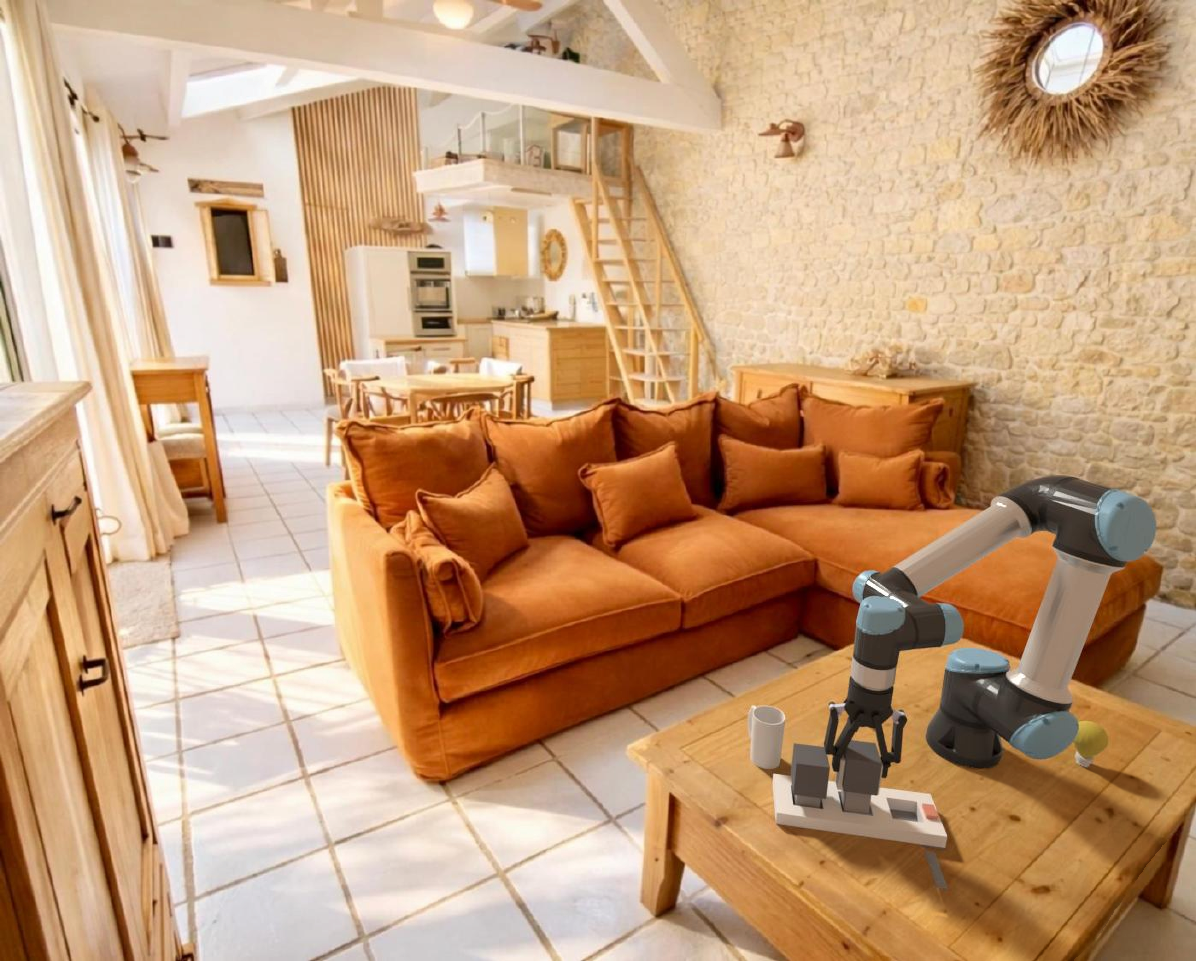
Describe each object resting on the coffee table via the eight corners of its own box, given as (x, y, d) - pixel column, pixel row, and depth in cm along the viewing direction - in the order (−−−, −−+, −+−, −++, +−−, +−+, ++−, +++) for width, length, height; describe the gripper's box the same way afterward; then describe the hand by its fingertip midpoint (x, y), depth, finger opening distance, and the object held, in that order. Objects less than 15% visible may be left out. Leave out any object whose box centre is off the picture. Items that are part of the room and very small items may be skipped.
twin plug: (819, 798, 136) (825, 747, 133) (823, 820, 130) (829, 767, 127) (788, 794, 137) (793, 743, 134) (791, 816, 131) (796, 763, 128)
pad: (934, 854, 124) (934, 852, 124) (947, 891, 116) (948, 888, 116) (887, 848, 125) (888, 845, 125) (898, 884, 118) (898, 881, 117)
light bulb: (1097, 758, 150) (1107, 719, 147) (1104, 777, 144) (1115, 737, 141) (1061, 750, 153) (1070, 711, 150) (1067, 768, 147) (1076, 728, 144)
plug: (867, 795, 134) (875, 743, 130) (873, 818, 128) (882, 763, 125) (835, 791, 135) (842, 738, 131) (840, 813, 129) (847, 759, 126)
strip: (927, 808, 135) (931, 790, 134) (944, 852, 124) (948, 832, 123) (771, 788, 140) (773, 770, 139) (775, 828, 130) (777, 809, 128)
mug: (787, 768, 146) (792, 720, 143) (761, 777, 143) (765, 727, 140) (758, 741, 155) (762, 694, 151) (733, 748, 152) (737, 701, 149)
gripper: (921, 675, 126) (904, 780, 132) (815, 663, 129) (803, 767, 135) (933, 698, 119) (914, 808, 125) (820, 685, 122) (807, 793, 128)
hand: (856, 787), depth 130 cm, fingers closed on plug, 6 cm apart
